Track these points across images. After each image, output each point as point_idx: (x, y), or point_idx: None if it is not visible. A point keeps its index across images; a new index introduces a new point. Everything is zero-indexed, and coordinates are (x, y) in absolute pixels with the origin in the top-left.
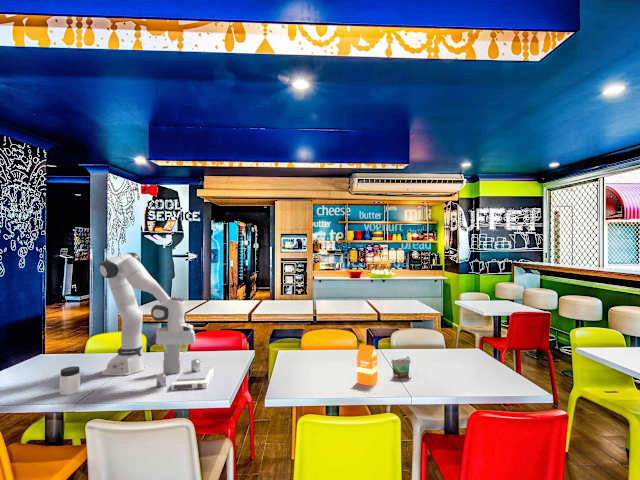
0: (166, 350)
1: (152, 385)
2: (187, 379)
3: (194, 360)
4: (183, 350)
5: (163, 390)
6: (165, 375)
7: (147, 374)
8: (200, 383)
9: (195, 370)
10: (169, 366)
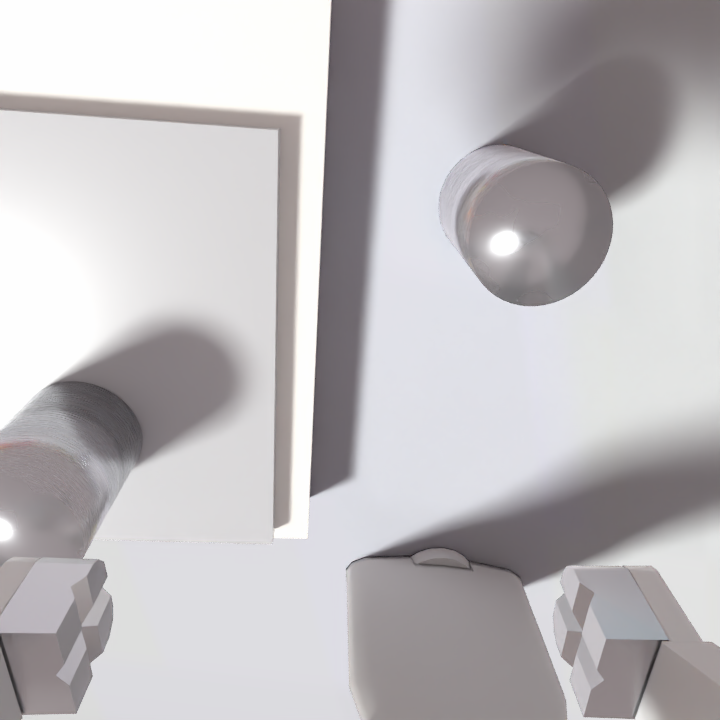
0: (634, 618)
1: None
2: (99, 115)
3: (28, 542)
4: (51, 595)
5: (442, 23)
6: (469, 219)
7: (676, 582)
8: None
9: (52, 396)
10: (472, 623)
